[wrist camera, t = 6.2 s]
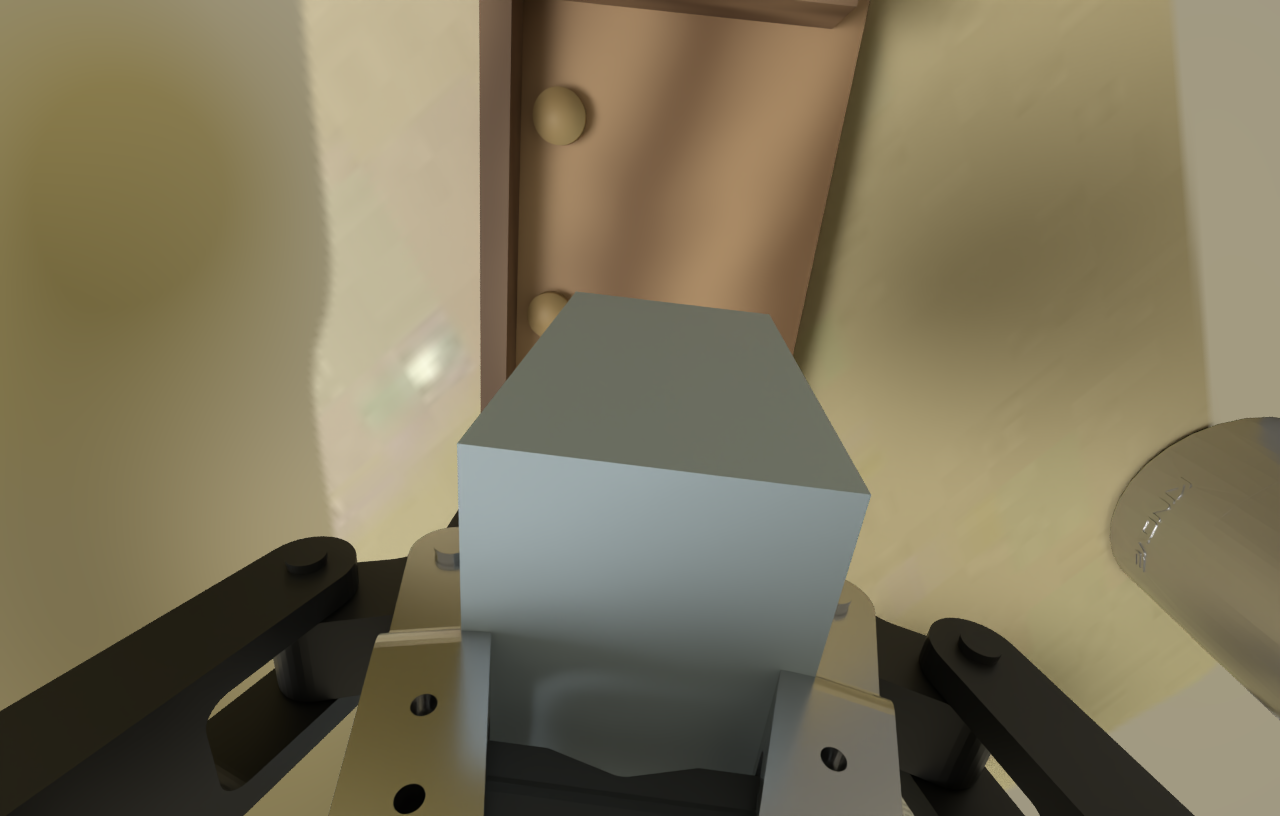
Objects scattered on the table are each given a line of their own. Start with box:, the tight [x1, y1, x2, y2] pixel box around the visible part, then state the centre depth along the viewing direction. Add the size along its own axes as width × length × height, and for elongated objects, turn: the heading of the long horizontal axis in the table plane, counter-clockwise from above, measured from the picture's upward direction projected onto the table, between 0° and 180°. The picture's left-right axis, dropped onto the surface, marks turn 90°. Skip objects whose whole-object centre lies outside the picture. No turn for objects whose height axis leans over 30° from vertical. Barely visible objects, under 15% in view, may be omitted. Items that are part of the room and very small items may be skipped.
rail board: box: [479, 0, 870, 412], centre depth 21 cm, size 12×17×4 cm
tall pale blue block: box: [457, 292, 871, 777], centre depth 10 cm, size 4×8×7 cm, turn 174°
